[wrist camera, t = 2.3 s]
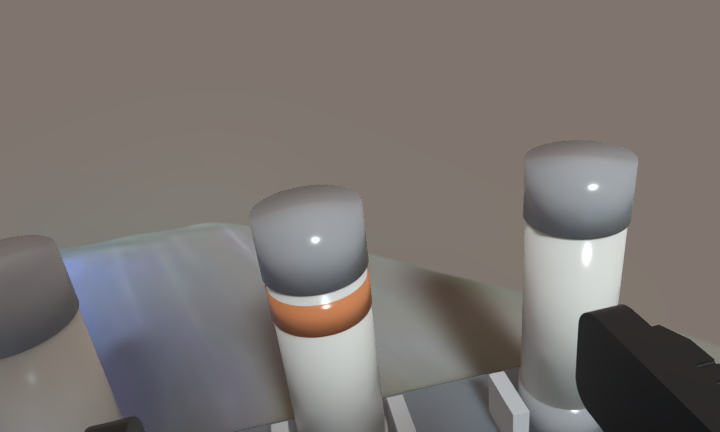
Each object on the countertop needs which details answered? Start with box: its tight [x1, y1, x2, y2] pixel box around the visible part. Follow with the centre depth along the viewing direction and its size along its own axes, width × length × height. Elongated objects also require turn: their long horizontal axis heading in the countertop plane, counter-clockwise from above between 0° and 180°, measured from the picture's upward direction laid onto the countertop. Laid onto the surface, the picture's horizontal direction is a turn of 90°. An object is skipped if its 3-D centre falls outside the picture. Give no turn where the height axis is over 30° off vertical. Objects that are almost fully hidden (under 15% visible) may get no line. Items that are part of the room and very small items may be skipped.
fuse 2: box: [518, 141, 638, 432], centre depth 25 cm, size 4×4×14 cm
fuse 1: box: [0, 235, 123, 432], centre depth 22 cm, size 4×4×14 cm
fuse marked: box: [249, 185, 388, 432], centre depth 24 cm, size 4×4×14 cm
